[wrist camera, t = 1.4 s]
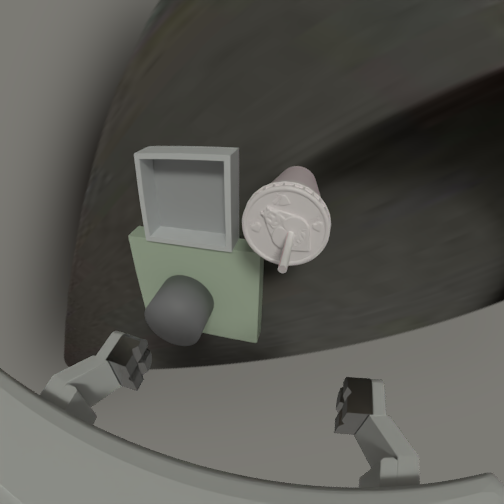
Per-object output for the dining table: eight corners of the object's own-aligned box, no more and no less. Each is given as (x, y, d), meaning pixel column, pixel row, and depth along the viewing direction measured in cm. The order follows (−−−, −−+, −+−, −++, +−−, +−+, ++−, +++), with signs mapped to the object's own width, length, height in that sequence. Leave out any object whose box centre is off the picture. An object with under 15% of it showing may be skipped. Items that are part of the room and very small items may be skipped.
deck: (268, 149, 28) (250, 172, 22) (260, 329, 41) (248, 372, 35) (127, 146, 31) (85, 167, 25) (156, 308, 44) (133, 344, 38)
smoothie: (298, 225, 32) (277, 319, 20) (252, 183, 30) (202, 259, 19) (343, 185, 28) (353, 266, 17) (295, 139, 27) (270, 188, 15)
